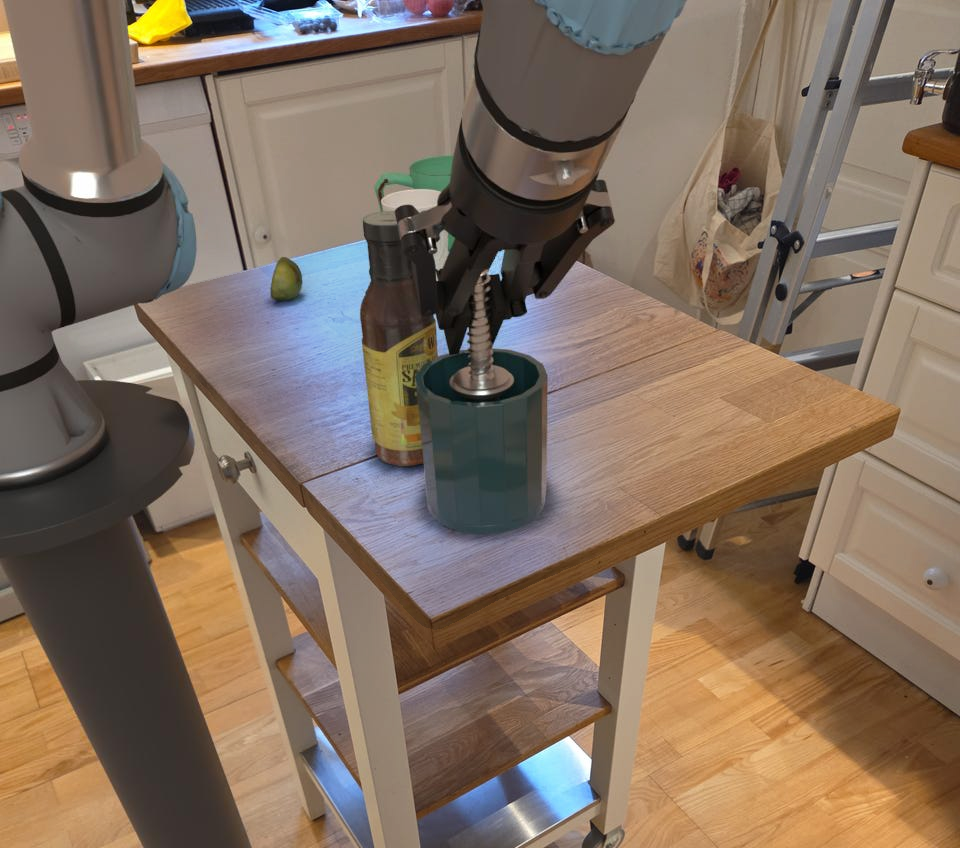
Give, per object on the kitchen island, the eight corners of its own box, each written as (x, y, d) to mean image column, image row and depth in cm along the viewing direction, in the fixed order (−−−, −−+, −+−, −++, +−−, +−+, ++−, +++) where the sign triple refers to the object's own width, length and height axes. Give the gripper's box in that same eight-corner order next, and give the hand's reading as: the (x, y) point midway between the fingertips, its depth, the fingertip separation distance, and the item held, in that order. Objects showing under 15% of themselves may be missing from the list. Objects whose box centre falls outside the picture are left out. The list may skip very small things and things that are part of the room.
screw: (476, 386, 70) (526, 401, 67) (438, 410, 67) (489, 427, 65) (467, 211, 61) (524, 221, 59) (423, 231, 58) (482, 242, 56)
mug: (481, 230, 126) (478, 152, 119) (491, 252, 119) (488, 171, 112) (379, 239, 125) (370, 161, 118) (383, 262, 117) (374, 180, 111)
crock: (407, 491, 75) (393, 368, 67) (506, 458, 78) (503, 338, 71) (462, 548, 68) (454, 418, 61) (568, 510, 71) (572, 383, 64)
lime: (275, 309, 106) (266, 267, 103) (265, 296, 110) (257, 255, 106) (310, 302, 108) (303, 260, 104) (300, 290, 111) (293, 248, 108)
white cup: (451, 270, 114) (446, 187, 107) (453, 293, 108) (448, 205, 101) (390, 274, 114) (381, 191, 107) (389, 297, 108) (380, 210, 101)
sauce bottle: (420, 476, 76) (396, 236, 63) (361, 461, 79) (326, 226, 65) (458, 442, 80) (443, 210, 67) (401, 428, 83) (375, 202, 70)
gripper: (404, 227, 43) (381, 397, 66) (687, 190, 45) (569, 366, 69) (372, 81, 43) (360, 302, 66) (654, 53, 46) (548, 275, 69)
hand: (466, 334), depth 67 cm, fingers closed on screw, 2 cm apart
